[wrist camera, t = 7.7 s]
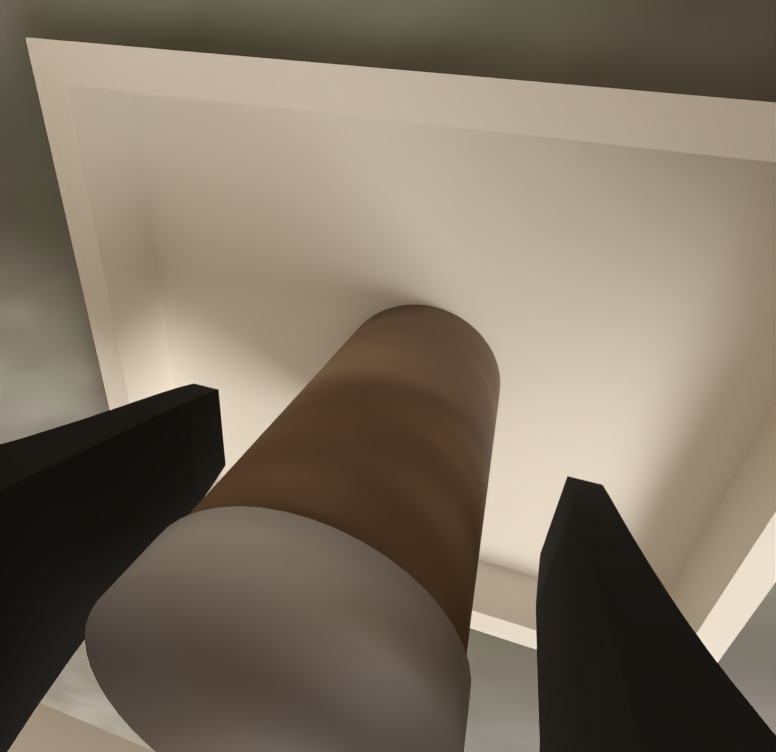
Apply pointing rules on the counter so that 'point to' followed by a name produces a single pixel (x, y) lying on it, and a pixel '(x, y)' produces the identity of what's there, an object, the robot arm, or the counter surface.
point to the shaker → (322, 564)
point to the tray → (452, 278)
